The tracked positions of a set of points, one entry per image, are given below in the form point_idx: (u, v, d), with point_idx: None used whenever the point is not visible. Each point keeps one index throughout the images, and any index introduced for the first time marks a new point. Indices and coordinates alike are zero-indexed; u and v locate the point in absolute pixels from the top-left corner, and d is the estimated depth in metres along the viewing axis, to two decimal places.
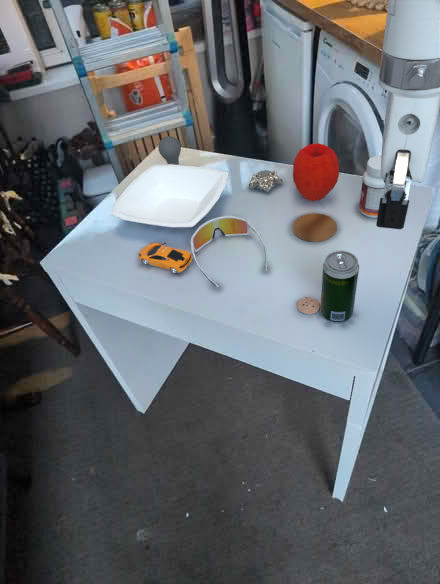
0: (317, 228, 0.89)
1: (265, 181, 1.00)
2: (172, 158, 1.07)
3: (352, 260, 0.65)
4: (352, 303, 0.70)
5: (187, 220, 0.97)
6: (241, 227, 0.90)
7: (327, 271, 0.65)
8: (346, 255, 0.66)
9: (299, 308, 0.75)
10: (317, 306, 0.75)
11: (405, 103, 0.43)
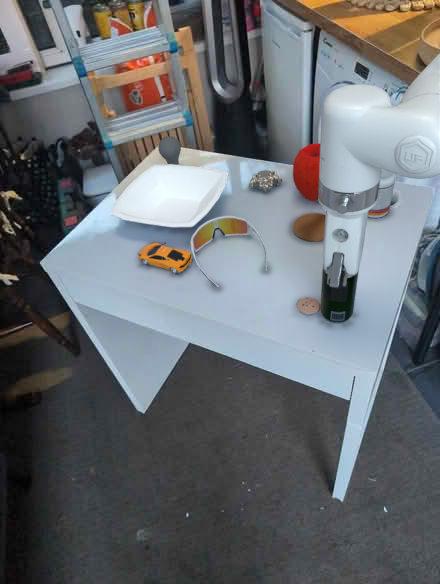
0: (317, 228, 0.89)
1: (265, 181, 1.00)
2: (172, 158, 1.07)
3: None
4: (352, 303, 0.70)
5: (187, 220, 0.97)
6: (241, 227, 0.90)
7: (326, 271, 0.65)
8: None
9: (299, 308, 0.75)
10: (317, 306, 0.75)
11: (336, 221, 0.55)
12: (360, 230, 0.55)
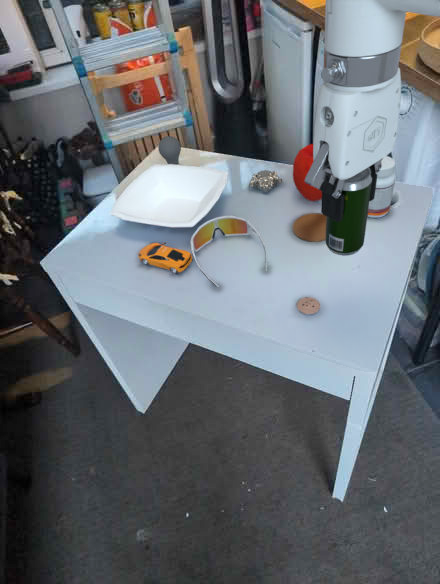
0: (317, 228, 0.89)
1: (265, 181, 1.00)
2: (172, 158, 1.07)
3: (363, 174, 0.54)
4: (355, 232, 0.58)
5: (187, 220, 0.97)
6: (241, 227, 0.90)
7: None
8: None
9: (299, 308, 0.75)
10: (317, 306, 0.75)
11: (325, 95, 0.45)
12: (348, 114, 0.45)
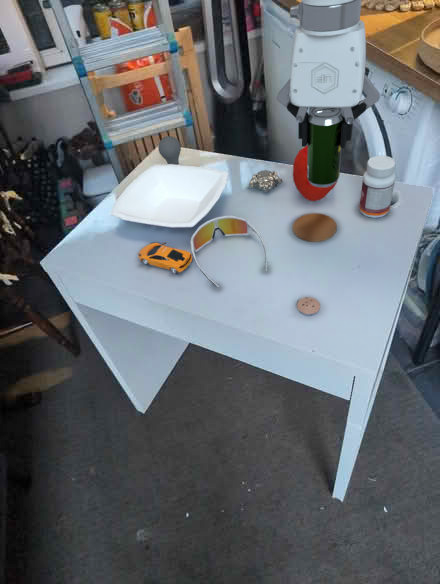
0: (317, 228, 0.89)
1: (265, 181, 1.00)
2: (172, 158, 1.07)
3: (327, 115, 0.65)
4: (314, 165, 0.70)
5: (187, 220, 0.97)
6: (241, 227, 0.90)
7: None
8: (335, 112, 0.65)
9: (299, 308, 0.75)
10: (317, 306, 0.75)
11: None
12: (295, 48, 0.59)
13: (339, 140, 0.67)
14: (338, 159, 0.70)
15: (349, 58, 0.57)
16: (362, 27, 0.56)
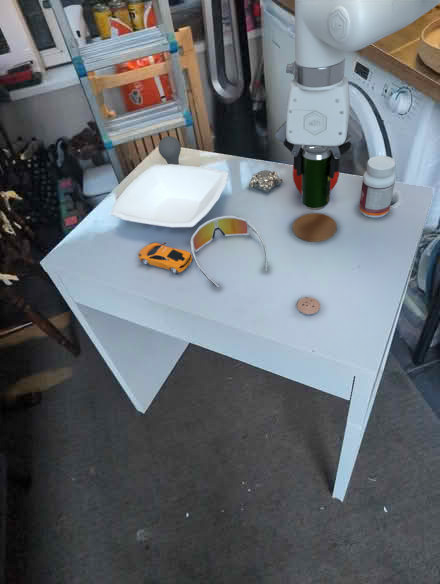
0: (317, 228, 0.89)
1: (265, 181, 1.00)
2: (172, 158, 1.07)
3: (318, 151, 0.76)
4: (307, 191, 0.81)
5: (187, 220, 0.97)
6: (241, 227, 0.90)
7: None
8: (325, 149, 0.76)
9: (299, 308, 0.75)
10: (317, 306, 0.75)
11: None
12: (290, 98, 0.70)
13: (328, 171, 0.79)
14: (328, 187, 0.81)
15: (335, 108, 0.68)
16: (345, 83, 0.67)
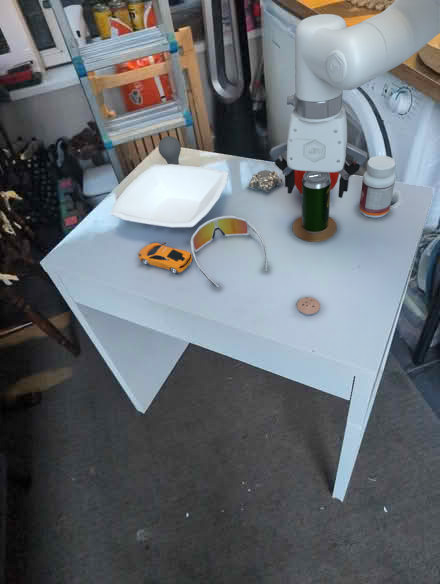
0: None
1: (265, 181, 1.00)
2: (172, 158, 1.07)
3: (317, 180, 0.80)
4: (307, 217, 0.86)
5: (187, 220, 0.97)
6: (241, 227, 0.90)
7: None
8: (324, 178, 0.80)
9: (299, 308, 0.75)
10: (317, 306, 0.75)
11: None
12: (290, 128, 0.74)
13: (327, 198, 0.83)
14: (327, 212, 0.85)
15: (333, 137, 0.72)
16: (343, 115, 0.71)
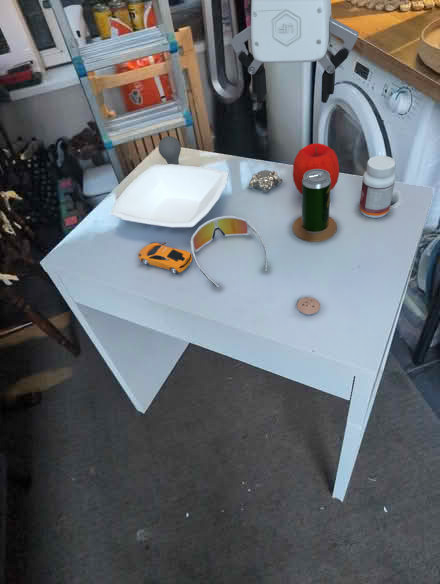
0: None
1: (265, 181, 1.00)
2: (172, 158, 1.07)
3: (317, 180, 0.80)
4: (307, 217, 0.86)
5: (187, 220, 0.97)
6: (241, 227, 0.90)
7: None
8: (324, 178, 0.80)
9: (299, 308, 0.75)
10: (317, 306, 0.75)
11: None
12: None
13: (327, 198, 0.83)
14: (327, 212, 0.85)
15: (311, 4, 0.53)
16: None
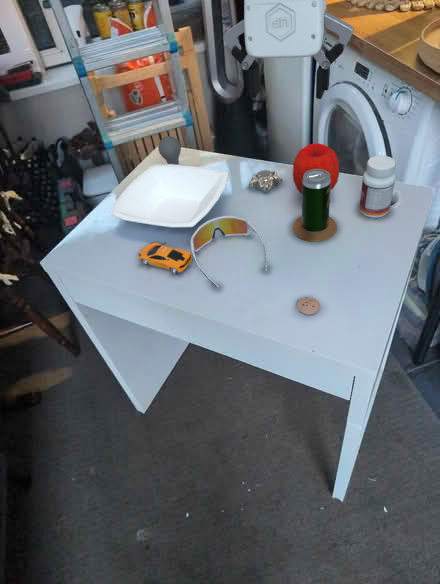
0: None
1: (265, 181, 1.00)
2: (172, 158, 1.07)
3: (317, 180, 0.80)
4: (307, 217, 0.86)
5: (187, 220, 0.97)
6: (241, 227, 0.90)
7: None
8: (324, 178, 0.80)
9: (299, 308, 0.75)
10: (317, 306, 0.75)
11: None
12: None
13: (327, 198, 0.83)
14: (327, 212, 0.85)
15: None
16: None
